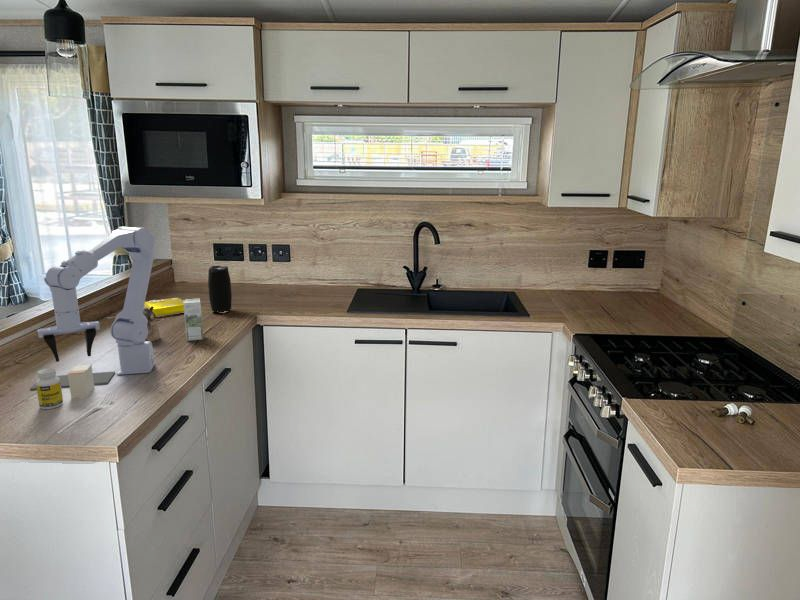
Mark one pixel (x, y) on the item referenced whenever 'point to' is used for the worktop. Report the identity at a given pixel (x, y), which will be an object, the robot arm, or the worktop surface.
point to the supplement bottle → (49, 389)
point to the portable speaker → (219, 288)
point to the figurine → (151, 325)
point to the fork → (92, 410)
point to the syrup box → (193, 319)
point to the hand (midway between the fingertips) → (73, 357)
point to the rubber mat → (97, 377)
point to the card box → (81, 381)
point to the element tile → (165, 306)
